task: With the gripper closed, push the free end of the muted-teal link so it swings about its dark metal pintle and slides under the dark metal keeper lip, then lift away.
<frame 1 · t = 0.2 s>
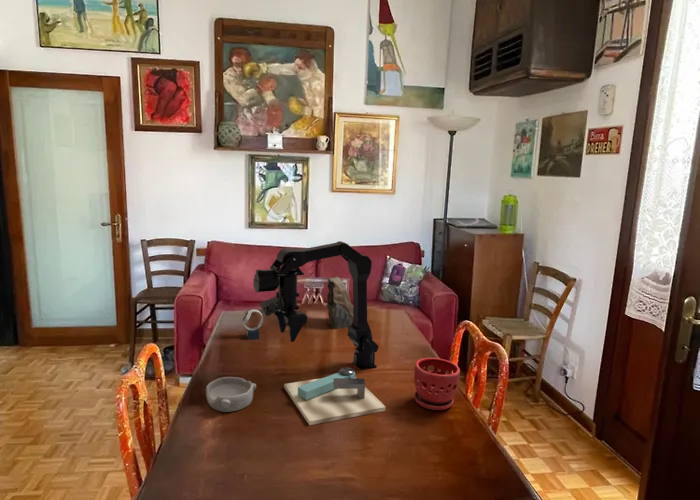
hand: (287, 336, 160), 14 cm above the table, fingers open, 9 cm apart
owl: (340, 325, 218), on the table
base board: (332, 398, 150), on the table
watch: (252, 337, 199), on the table
link: (328, 383, 154), point 3 cm above the table, hinge at -50.0°
pintle and keeper: (346, 385, 160), resting on base board
plant pot: (434, 403, 150), on the table
dish: (230, 402, 147), on the table
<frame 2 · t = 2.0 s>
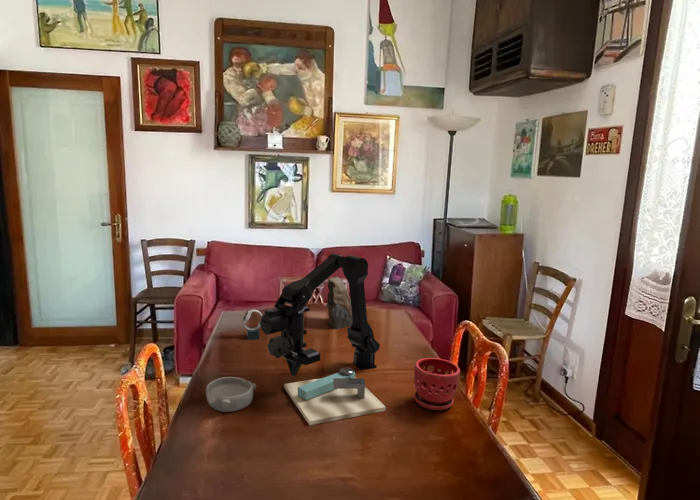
hand: (293, 375, 154), 5 cm above the table, fingers closed
nothing on the table moved.
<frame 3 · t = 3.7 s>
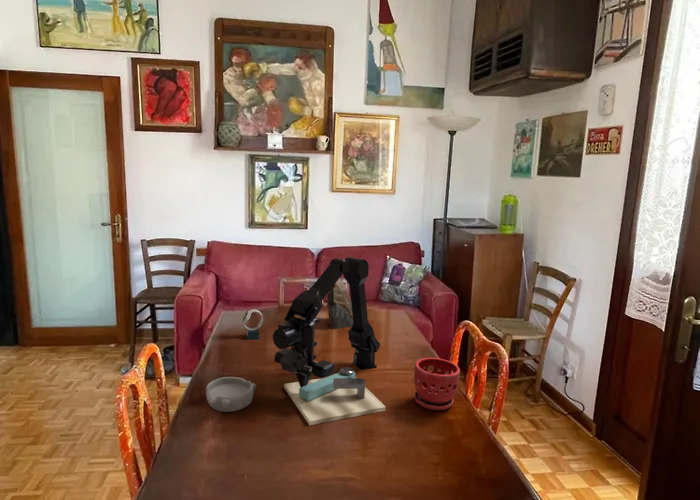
hand: (303, 389, 150), 3 cm above the table, fingers closed
link: (329, 383, 154), point 3 cm above the table, hinge at -47.4°, touching gripper
everything else where it was.
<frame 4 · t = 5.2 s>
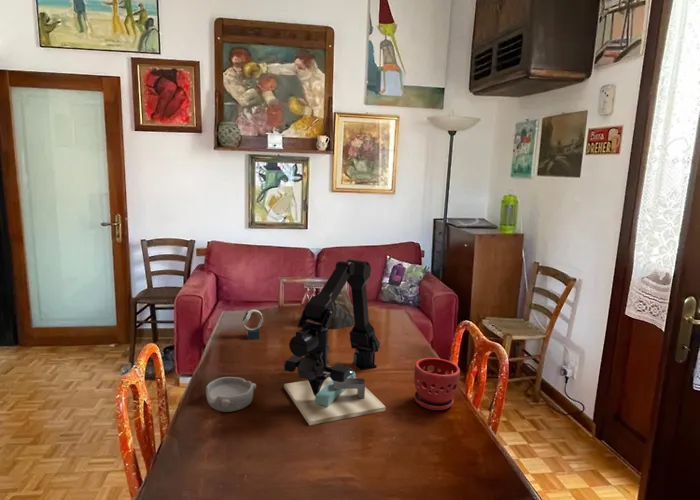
hand: (316, 395, 147), 3 cm above the table, fingers closed
link: (336, 386, 152), point 3 cm above the table, hinge at -26.8°, touching gripper
everything else where it was.
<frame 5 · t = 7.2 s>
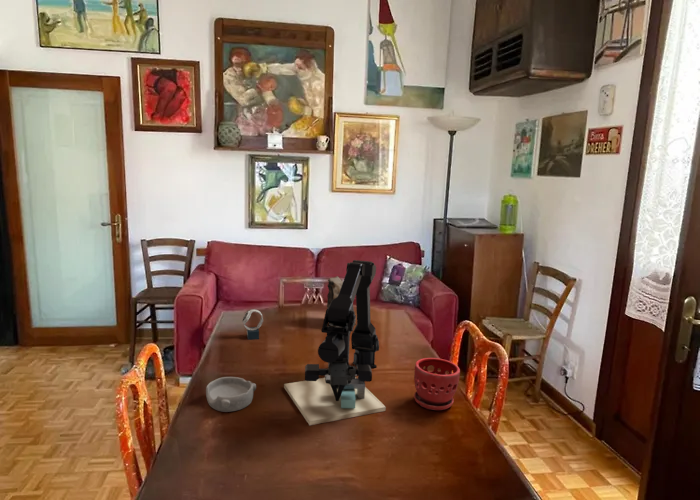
hand: (337, 400, 144), 3 cm above the table, fingers closed
link: (347, 387, 152), point 3 cm above the table, hinge at -2.1°, touching gripper
everything else where it was.
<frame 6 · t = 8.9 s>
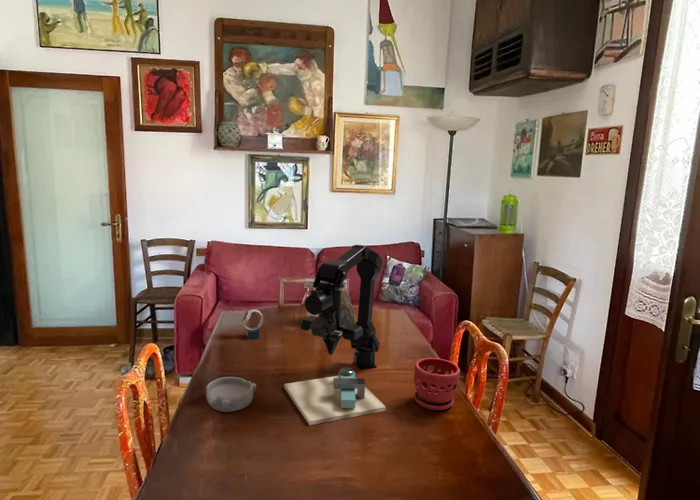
hand: (331, 354, 152), 12 cm above the table, fingers closed
link: (347, 387, 152), point 3 cm above the table, hinge at -2.0°
everything else where it was.
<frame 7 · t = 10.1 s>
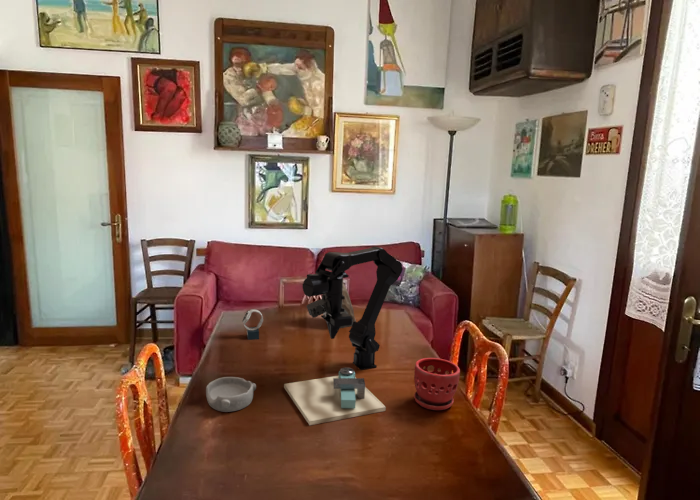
hand: (332, 338, 164), 13 cm above the table, fingers closed
nothing on the table moved.
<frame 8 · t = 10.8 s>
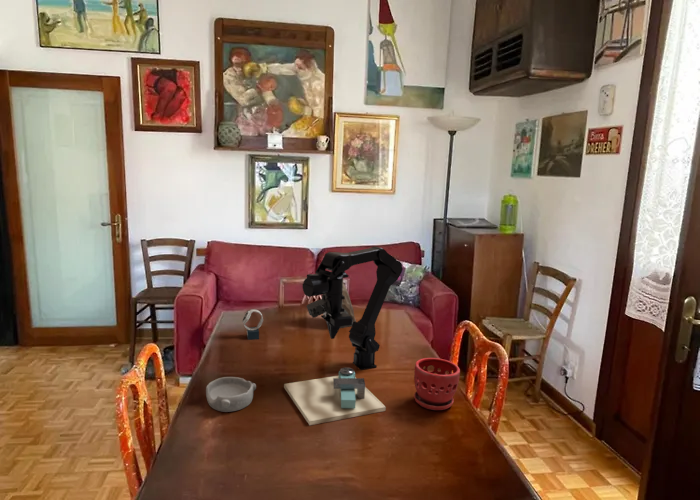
hand: (332, 338, 164), 13 cm above the table, fingers closed
nothing on the table moved.
at the end: link at -2° (first picture: -50°); the gripper is holding nothing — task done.
